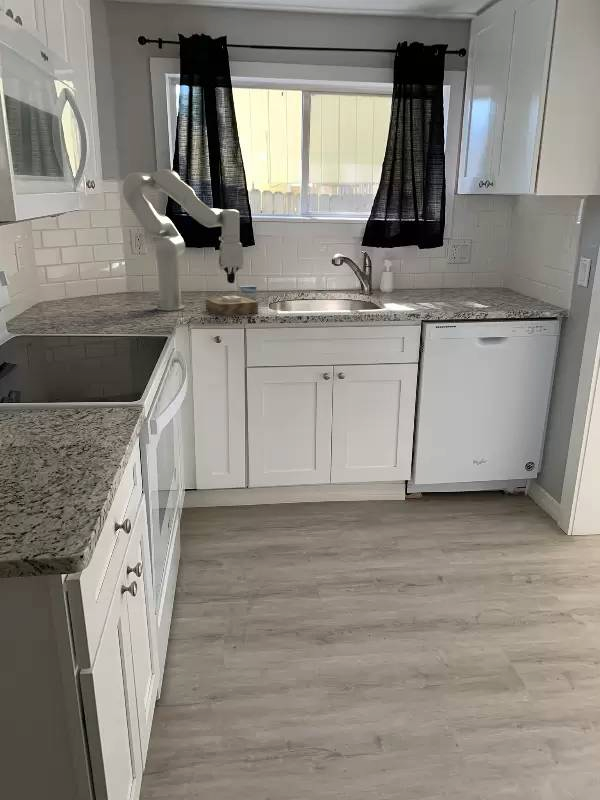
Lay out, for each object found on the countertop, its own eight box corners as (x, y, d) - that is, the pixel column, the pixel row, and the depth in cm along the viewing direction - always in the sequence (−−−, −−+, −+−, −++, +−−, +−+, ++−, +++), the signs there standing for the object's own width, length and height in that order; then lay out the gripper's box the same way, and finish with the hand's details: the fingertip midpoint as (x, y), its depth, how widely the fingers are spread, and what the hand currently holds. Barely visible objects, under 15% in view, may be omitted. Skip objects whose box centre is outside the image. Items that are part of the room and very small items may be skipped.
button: (228, 312, 269) (227, 298, 267) (222, 309, 274) (222, 296, 273) (241, 311, 272) (241, 297, 270) (235, 308, 278) (235, 295, 276)
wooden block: (220, 316, 263) (220, 304, 261) (206, 310, 276) (205, 299, 274) (258, 313, 271) (257, 301, 270) (242, 307, 284) (242, 296, 283)
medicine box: (240, 305, 290) (240, 286, 287) (238, 303, 294) (238, 285, 291) (256, 304, 292) (256, 286, 289) (254, 303, 296) (254, 285, 293)
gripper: (218, 240, 257) (218, 284, 263) (250, 240, 264) (250, 283, 270) (211, 239, 263) (211, 282, 269) (242, 238, 270) (242, 280, 276)
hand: (230, 282), depth 270 cm, fingers closed
